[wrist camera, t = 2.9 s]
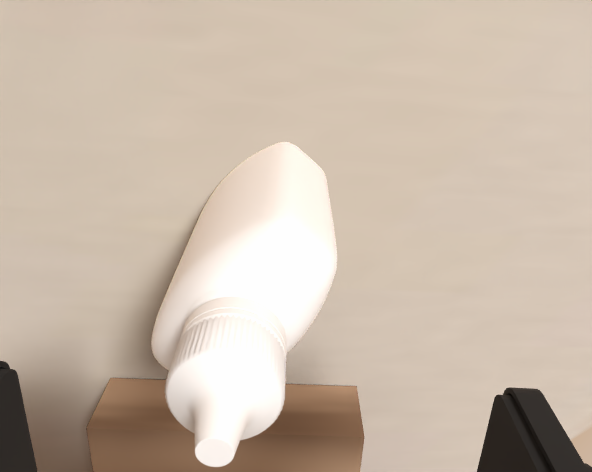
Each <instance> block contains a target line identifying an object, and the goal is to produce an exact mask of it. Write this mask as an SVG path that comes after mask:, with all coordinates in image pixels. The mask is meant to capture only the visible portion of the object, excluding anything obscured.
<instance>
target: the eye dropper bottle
mask: <svg viewBox="0 0 592 472" xmlns="http://www.w3.org/2000/svg"><path fill="white" fill-rule="evenodd" d="M336 269H337V249H336V239H335V231H334V225H333V218H332V211H331V204H330V198H329V192H328V185H327V179H326V175H325V174H324V172H323V170H322V169H321V168H320V167H319V166H318V165H317V164H316V163H315V162H314V161H313V160H312V159H311V158H309V157H308V156H307V155H306V154H305V153H304V152H303V151H302V150H300V149H299V148H298V147H297V146H296V145H294V144H291V143H289V142H279V143H276V144H273V145H271V146H269V147H266V148H264V149H262V150H260V151H259V152H257V153H255V154H253V155H252V156H250V157H249V158H247V159H246V160H244V161H243V162H242V163H240V164H239V165H238V166H237V167H235V168H234V169H233V170H232V171H231V172H230V173H229V174H228V175H227V176H226V177H225V178H224V179H223V180H222V181H221V183H220V184H219V185H218V186H217V187H216V189H215V190H214V192H213V193H212V194H211V196H210V198H209V199H208V201H207V203H206V204H205V206H204V208H203V210H202V212H201V214H200V216H199V219H198V221H197V223H196V225H195V228H194V230H193V232H192V235H191V237H190V239H189V241H188V244H187V246H186V248H185V251H184V253H183V255H182V258H181V260H180V262H179V264H178V267H177V269H176V271H175V274H174V276H173V278H172V281H171V283H170V285H169V288H168V290H167V293H166V295H165V297H164V300H163V302H162V305H161V307H160V310H159V312H158V315H157V318H156V322H155V325H154V329H153V333H152V339H151V347H152V352H153V355H154V357H155V358H156V360H157V361H158V362H159V363H160V364H161V365H162V366H163V367H164V368H165V369H167V370H168V371H169V373H168V376H167V379H166V384H165V391H164V392H165V394H166V395H165V398H166V399H167V400H166V402H167V404H168V408H169V409H170V412H171V413H172V414H173V416H174V417H175V418H176V420H177V421H178V422H179V423H180V424H181V425H183V426H184V427H185V428H186V429H188V430H189V431H191V432H193V433H195V455H196V457H197V459H198V460H199V461H200V462H201V463H203V464H204V465H207V466H210V467H222V466H225V465H227V464H229V463H230V462H231V461H232V459H233V458H234V455H235V452H236V450H237V447H238V445H239V442H240V440H244V439H248V438H251V437H253V436H256V435H258V434H260V433H262V432H263V431H265V430H267V428H268V427H270V426H271V424H273V423H274V422H275V420H276V419H278V416H279V415H280V412H281V411H282V408H283V405H284V400H285V375H286V354H287V353H288V352H289V351H290V350H291V349H292V348H293V347H294V346H295V345H296V344H297V343H298V341H299V340H300V339H301V338H302V337H303V335H304V334H305V333H306V331H307V330H308V329H309V327H310V326H311V324H312V323H313V321H314V320H315V318H316V317H317V315H318V313H319V311H320V309H321V308H322V306H323V304H324V302H325V300H326V298H327V296H328V293H329V290H330V288H331V285H332V283H333V280H334V277H335V273H336Z"/></svg>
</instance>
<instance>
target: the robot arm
mask: <svg viewBox="0 0 592 472" xmlns="http://www.w3.org/2000/svg"><path fill="white" fill-rule="evenodd" d="M0 472H37V468H36V463H35V458H34V453H33V448H32V443H31V438H30V433H29V428H28V424H27V419H26V414H25V409H24V404H23V399H22V394H21V389H20V384H19V379H18V375H17V372H16V371H15V370H13V369H10V367H9V365H8V364H7V363H6V362H4V361H0ZM477 472H592V467H591V466H589V465H588V464H584V463H583V461H582V459H581V458H580V456H579V454H578V453H577V451H576V449H575V447H574V446H573V444H572V442H571V441H570V439H569V437H568V436H567V434H566V432H565V431H564V429H563V427H562V426H561V424H560V422H559V421H558V419H557V417H556V416H555V414H554V412H553V410H552V409H551V407H550V405H549V404H548V402H547V400H546V399H545V397H544V395H543V394H542V393H541V391H540V390H538V389H527V388H506V390H505V391H504V394H503V395H497V396H496V397H495V399H494V403H493V407H492V411H491V415H490V419H489V424H488V428H487V432H486V436H485V440H484V444H483V449H482V453H481V457H480V461H479V465H478V469H477Z"/></svg>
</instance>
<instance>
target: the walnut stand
mask: <svg viewBox="0 0 592 472" xmlns="http://www.w3.org/2000/svg"><path fill="white" fill-rule="evenodd" d="M165 384H166V380H155V379H126V378H110V380H109V382H108V384H107V386H106V388H105V390H104V392H103V395H102V397H101V399H100V401H99V403H98V405H97V407H96V409H95V411H94V413H93V415H92V417H91V419H90V421H89V423H88V425H87V428H86V430H87V436H88V442H89V448H90V454H91V461H92V467H93V472H360V467H361V459H362V451H363V444H364V432H363V425H362V419H361V412H360V405H359V399H358V392H357V386H329V385H300V384H285V400H284V405H283V408H282V411H281V412H280V415H279V416H278V419H276V420H275V422H274V423H273V424H271V426H270V427H268V428H267V430H265V431H263V432H262V433H260V434H258V435H256V436H253V437H251V438H248V439H244V440H240V442H239V445H238V447H237V450H236V452H235V455H234V458H233V459H232V461H231V462H230V463H229V464H227V465H225V466H222V467H210V466H207V465H204V464H203V463H201V462H200V461H199V460H198V459H197V457H196V455H195V433H193V432H191V431H189V430H188V429H186V428H185V427H184V426H183V425H181V424H180V423H179V422H178V421H177V420H176V418H175V417H174V416H173V414H172V413H171V412H170V409H169V408H168V404H167V402H166V400H167V399H166V398H165V395H166V394H165V392H164V391H165Z"/></svg>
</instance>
